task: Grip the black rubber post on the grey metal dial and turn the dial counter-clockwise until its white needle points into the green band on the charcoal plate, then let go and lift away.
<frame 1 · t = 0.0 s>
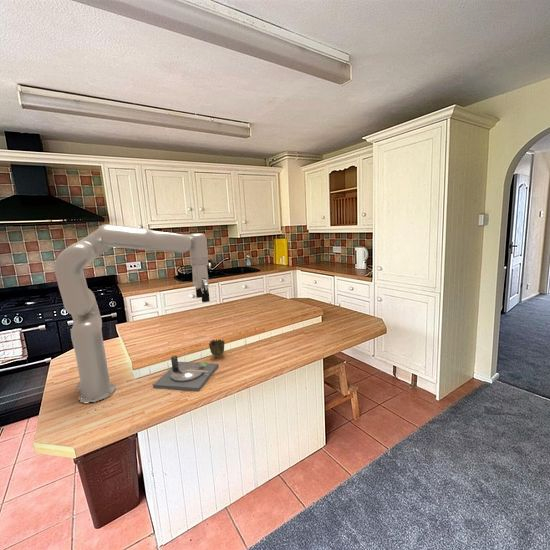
hand: (202, 299, 132), 31 cm above the worktop, tool pointing down, fingers open, 9 cm apart
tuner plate: (187, 376, 126), on the worktop
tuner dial: (189, 365, 125), point 5 cm above the worktop, hinge at 0.0°
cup: (218, 357, 144), on the worktop
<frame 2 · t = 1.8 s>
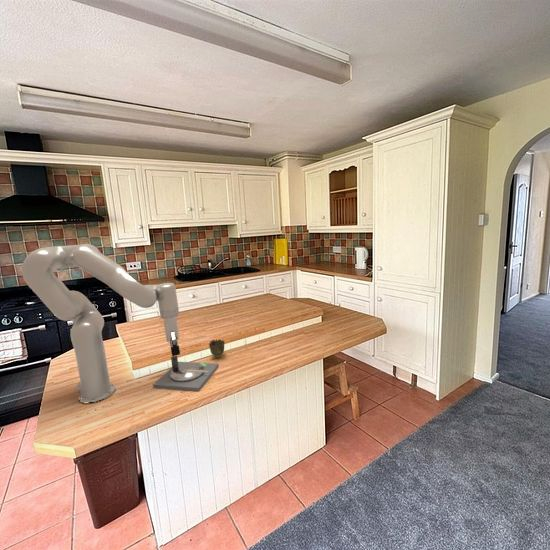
hand: (175, 350, 126), 12 cm above the worktop, tool pointing down, fingers open, 9 cm apart
nothing on the worktop moved.
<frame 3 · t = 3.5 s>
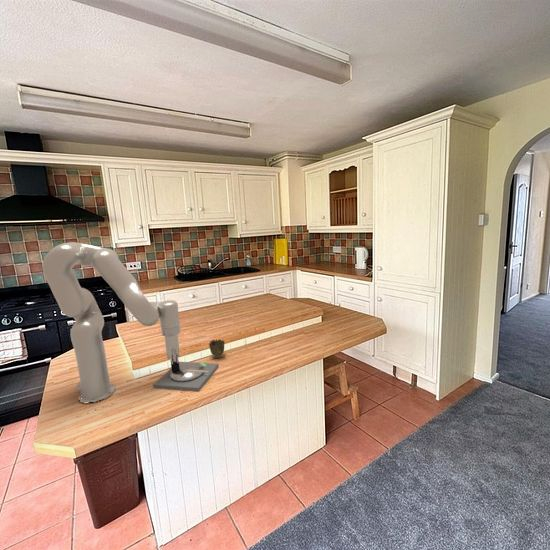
hand: (175, 369, 127), 3 cm above the worktop, tool pointing down, fingers closed on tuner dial, 2 cm apart
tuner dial: (189, 365, 125), point 5 cm above the worktop, hinge at 0.0°, touching gripper
everything else where it was.
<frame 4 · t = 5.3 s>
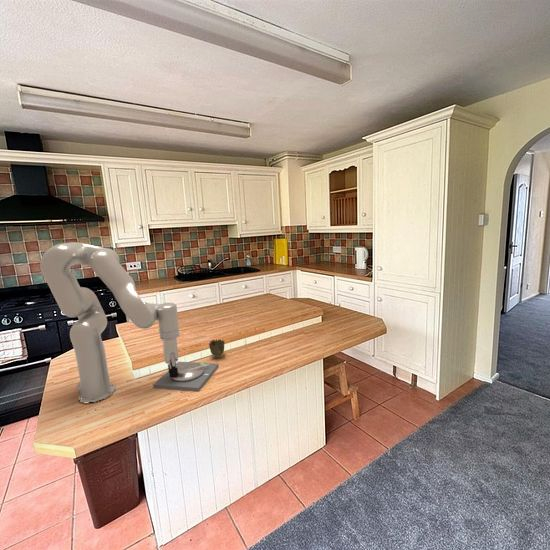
hand: (173, 374, 123), 3 cm above the worktop, tool pointing down, fingers closed on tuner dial, 3 cm apart
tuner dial: (189, 364, 126), point 5 cm above the worktop, hinge at 40.4°, touching gripper
everything else where it was.
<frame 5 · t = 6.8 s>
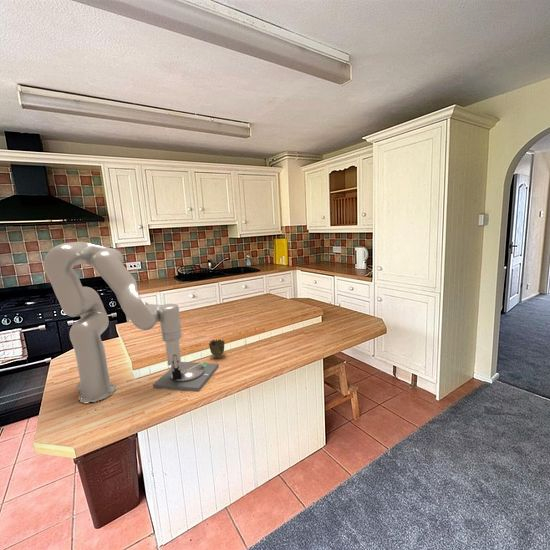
hand: (176, 375, 121), 3 cm above the worktop, tool pointing down, fingers open, 4 cm apart
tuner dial: (189, 364, 127), point 5 cm above the worktop, hinge at 64.9°
everything else where it was.
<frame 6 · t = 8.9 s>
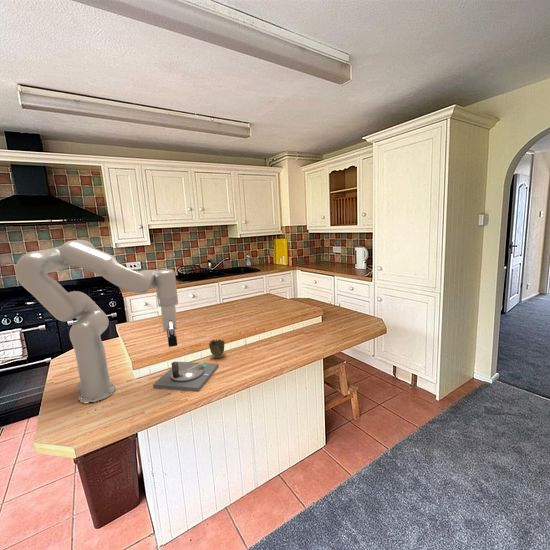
hand: (172, 341, 119), 18 cm above the worktop, tool pointing down, fingers open, 9 cm apart
nothing on the worktop moved.
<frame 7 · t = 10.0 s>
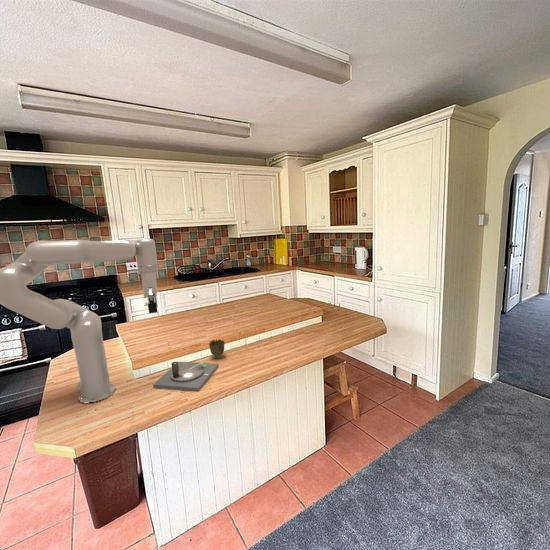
hand: (153, 309, 123), 30 cm above the worktop, tool pointing down, fingers open, 9 cm apart
nothing on the worktop moved.
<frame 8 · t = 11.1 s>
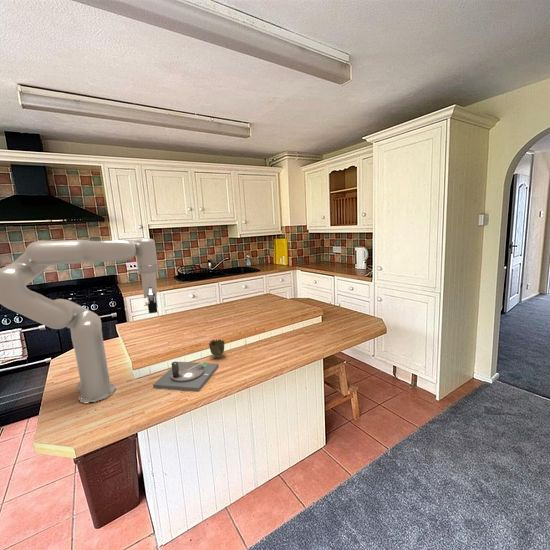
hand: (153, 309, 123), 30 cm above the worktop, tool pointing down, fingers open, 9 cm apart
nothing on the worktop moved.
at the end: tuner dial at +65° (first picture: +0°); the gripper is holding nothing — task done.
